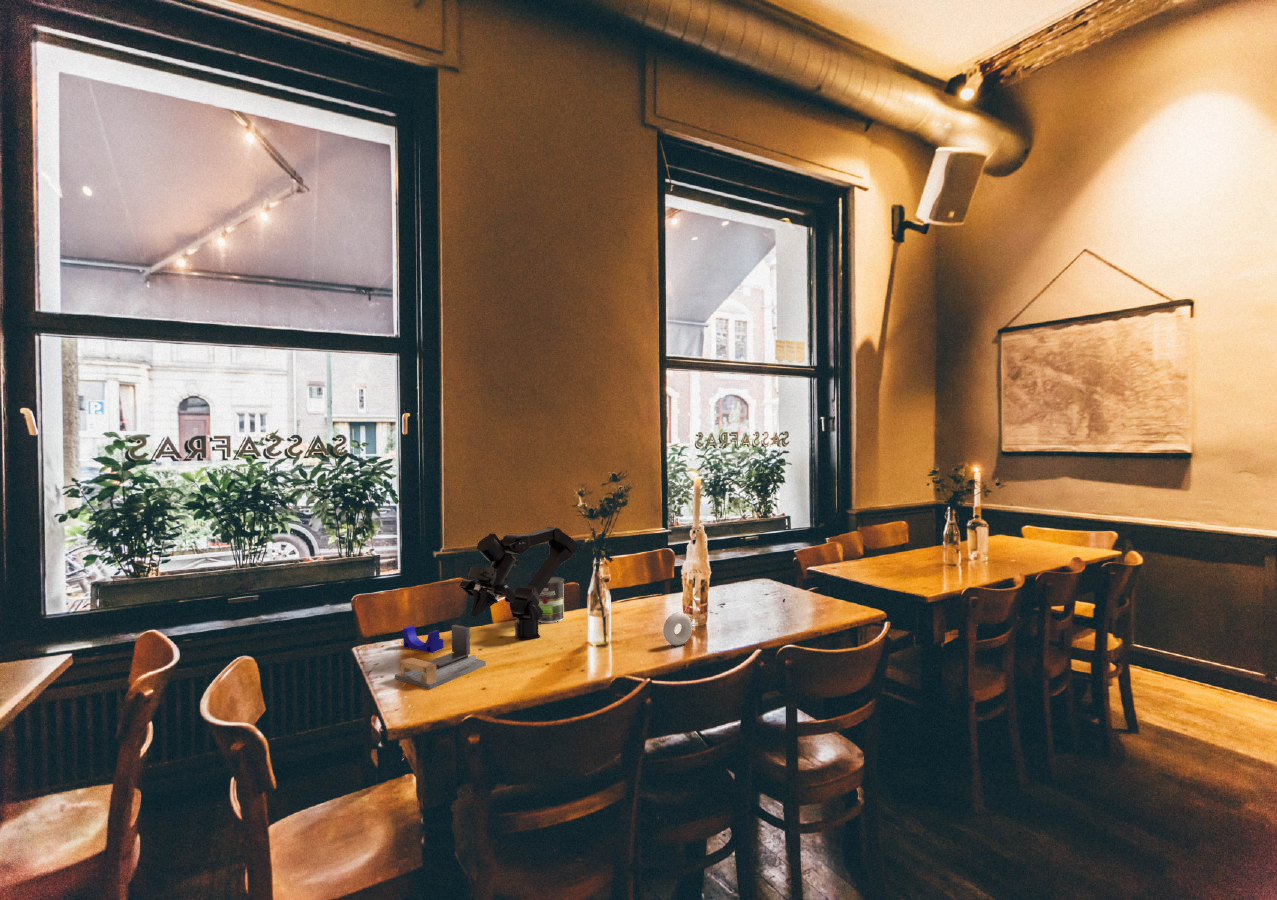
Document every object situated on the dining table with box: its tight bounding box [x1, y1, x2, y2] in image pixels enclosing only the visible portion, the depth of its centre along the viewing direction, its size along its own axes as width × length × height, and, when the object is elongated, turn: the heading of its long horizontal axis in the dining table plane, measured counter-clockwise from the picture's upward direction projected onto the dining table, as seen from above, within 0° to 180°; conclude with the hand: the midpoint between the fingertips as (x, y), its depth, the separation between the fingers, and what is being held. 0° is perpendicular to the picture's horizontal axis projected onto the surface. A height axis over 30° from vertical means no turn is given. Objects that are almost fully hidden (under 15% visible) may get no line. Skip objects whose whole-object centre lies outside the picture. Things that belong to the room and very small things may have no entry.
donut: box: [662, 611, 693, 647], centre depth 181 cm, size 10×4×10 cm, turn 120°
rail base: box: [394, 652, 487, 690], centre depth 163 cm, size 19×14×5 cm
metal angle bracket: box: [429, 624, 471, 670], centre depth 165 cm, size 10×6×9 cm, turn 149°
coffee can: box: [538, 576, 565, 624], centre depth 211 cm, size 10×10×14 cm
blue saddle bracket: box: [402, 625, 444, 654], centre depth 183 cm, size 12×4×6 cm, turn 63°
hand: (472, 616), depth 172 cm, fingers closed
